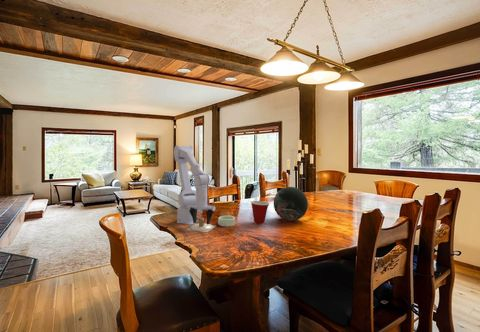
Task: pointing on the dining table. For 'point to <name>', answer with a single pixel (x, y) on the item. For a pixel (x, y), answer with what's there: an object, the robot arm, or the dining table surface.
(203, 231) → the mat
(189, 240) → the dining table surface
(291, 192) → the decorative sphere
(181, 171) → the robot arm
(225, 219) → the bowl
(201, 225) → the lid
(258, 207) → the plastic cup
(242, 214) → the dining table surface
